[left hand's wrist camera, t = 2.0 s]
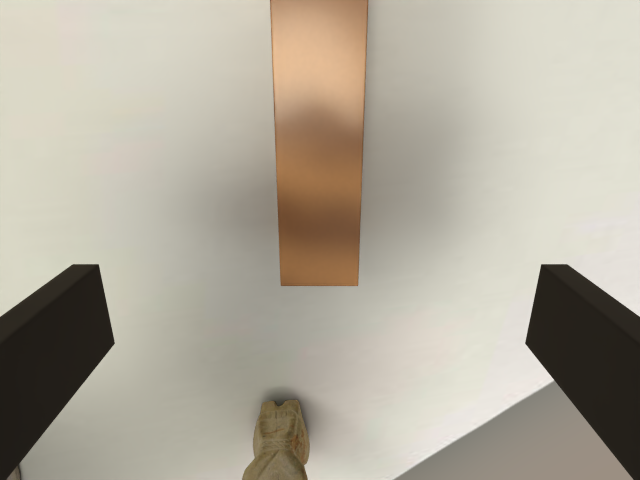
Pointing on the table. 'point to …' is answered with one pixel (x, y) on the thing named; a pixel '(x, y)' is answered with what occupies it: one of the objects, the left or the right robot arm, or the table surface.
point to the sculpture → (279, 444)
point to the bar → (319, 137)
